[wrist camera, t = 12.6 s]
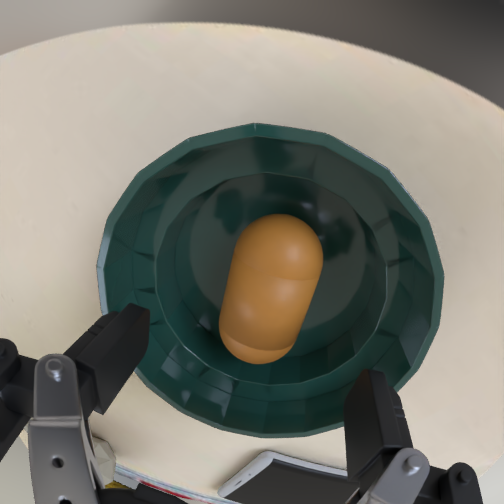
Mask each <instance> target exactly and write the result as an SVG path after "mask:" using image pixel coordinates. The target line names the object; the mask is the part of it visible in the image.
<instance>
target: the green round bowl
mask: <svg viewBox="0 0 504 504" xmlns="http://www.w3.org/2000/svg"><path fill="white" fill-rule="evenodd" d="M270 214H288V215H291V216H294V217H297V218H298V219H300V220H302V221H304V222H305V223H306V224H307V225H309V226H310V227H311V228H312V229H313V231H314V232H315V233H316V235H317V236H318V239H319V241H320V243H321V246H322V251H323V266H322V271H321V274H320V277H319V280H318V283H317V286H316V289H315V291H314V294H313V297H312V300H311V302H310V305H309V308H308V311H307V313H306V316H305V319H304V321H303V324H302V326H301V329H300V332H299V334H298V337H297V339H296V341H295V343H294V345H293V346H292V348H291V349H290V350H289V351H288V353H287V354H285V355H284V356H283V357H281V358H280V359H278V360H276V361H274V362H270V363H266V364H252V363H248V362H245V361H242V360H240V359H238V358H237V357H235V356H234V355H233V354H232V353H231V352H230V351H229V350H228V349H227V348H226V346H225V345H224V343H223V341H222V338H221V336H220V331H219V317H220V312H221V308H222V303H223V298H224V294H225V289H226V285H227V280H228V276H229V271H230V266H231V262H232V258H233V253H234V249H235V246H236V243H237V240H238V238H239V236H240V235H241V233H242V231H243V230H244V229H245V228H246V227H247V226H248V225H249V224H251V223H252V222H253V221H255V220H256V219H258V218H261V217H263V216H266V215H270ZM97 279H98V288H99V297H100V305H101V311H102V315H105V314H108V313H110V312H112V311H117V312H119V313H120V312H121V311H122V310H123V309H124V308H125V307H126V306H127V305H128V304H129V303H133V304H136V305H138V306H141V307H144V308H147V309H149V310H150V327H149V344H148V348H147V351H146V353H145V355H144V357H143V358H142V360H141V361H140V363H139V364H138V366H137V367H136V368H135V370H134V372H135V373H136V374H137V376H138V377H139V378H140V379H141V381H142V382H143V383H144V384H145V385H146V386H147V387H148V388H149V389H150V390H152V391H153V392H154V393H156V394H157V395H158V396H159V397H161V398H162V399H163V400H165V401H166V402H167V403H169V404H170V405H171V406H173V407H174V408H175V409H177V410H178V411H180V412H181V413H183V414H185V415H187V416H190V417H192V418H194V419H196V420H198V421H201V422H203V423H205V424H207V425H210V426H212V427H214V428H217V429H219V430H223V431H227V432H232V433H237V434H242V435H247V436H253V437H258V438H294V437H307V436H311V435H315V434H319V433H323V432H327V431H330V430H334V429H337V428H341V427H344V418H343V405H344V401H345V398H346V396H347V395H348V393H349V391H350V390H351V388H352V386H353V385H354V383H355V382H356V380H357V378H358V376H359V375H360V373H361V372H362V370H363V369H371V370H376V371H382V372H384V373H385V376H386V380H387V383H388V386H392V387H393V388H394V390H395V391H396V392H398V391H399V390H400V389H401V388H402V387H403V386H404V385H405V384H406V383H407V382H408V381H409V380H410V379H411V377H412V376H413V375H414V374H415V373H416V372H417V371H418V369H419V368H420V366H421V364H422V362H423V360H424V358H425V356H426V354H427V352H428V350H429V348H430V346H431V344H432V342H433V339H434V337H435V335H436V333H437V331H438V328H439V325H440V317H441V309H442V299H443V288H444V271H443V267H442V263H441V259H440V256H439V252H438V248H437V245H436V241H435V238H434V235H433V232H432V228H431V225H430V222H429V220H428V218H427V217H426V215H425V214H424V212H423V211H422V210H421V208H420V207H419V206H418V204H417V203H416V202H415V201H414V199H413V198H412V197H411V195H410V194H409V193H408V192H407V190H406V189H405V188H404V186H403V185H402V184H401V183H400V182H399V180H398V179H397V178H396V177H395V175H394V174H393V173H392V172H391V171H390V170H389V169H388V168H387V167H385V166H384V165H382V164H380V163H379V162H377V161H375V160H374V159H372V158H370V157H369V156H367V155H365V154H364V153H362V152H360V151H359V150H357V149H355V148H353V147H351V146H350V145H348V144H346V143H344V142H343V141H341V140H339V139H337V138H335V137H333V136H331V135H330V134H326V133H323V132H317V131H311V130H305V129H299V128H292V127H285V126H278V125H271V124H262V123H256V124H255V123H251V124H246V125H241V126H236V127H232V128H227V129H223V130H218V131H214V132H210V133H206V134H202V135H198V136H194V137H190V138H188V139H186V140H184V141H183V142H181V143H180V144H178V145H177V146H175V147H174V148H172V149H171V150H169V151H168V152H166V153H165V154H163V155H162V156H161V157H159V158H158V159H156V160H155V161H153V162H152V163H151V164H149V165H148V166H146V167H145V168H144V169H142V170H141V171H139V172H138V174H136V176H135V177H134V179H133V180H132V182H131V183H130V184H129V186H128V187H127V189H126V190H125V192H124V193H123V195H122V196H121V198H120V199H119V201H118V202H117V204H116V205H115V207H114V208H113V210H112V212H111V213H110V215H109V216H108V219H107V221H106V225H105V229H104V233H103V238H102V242H101V246H100V251H99V255H98V260H97Z"/></svg>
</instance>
